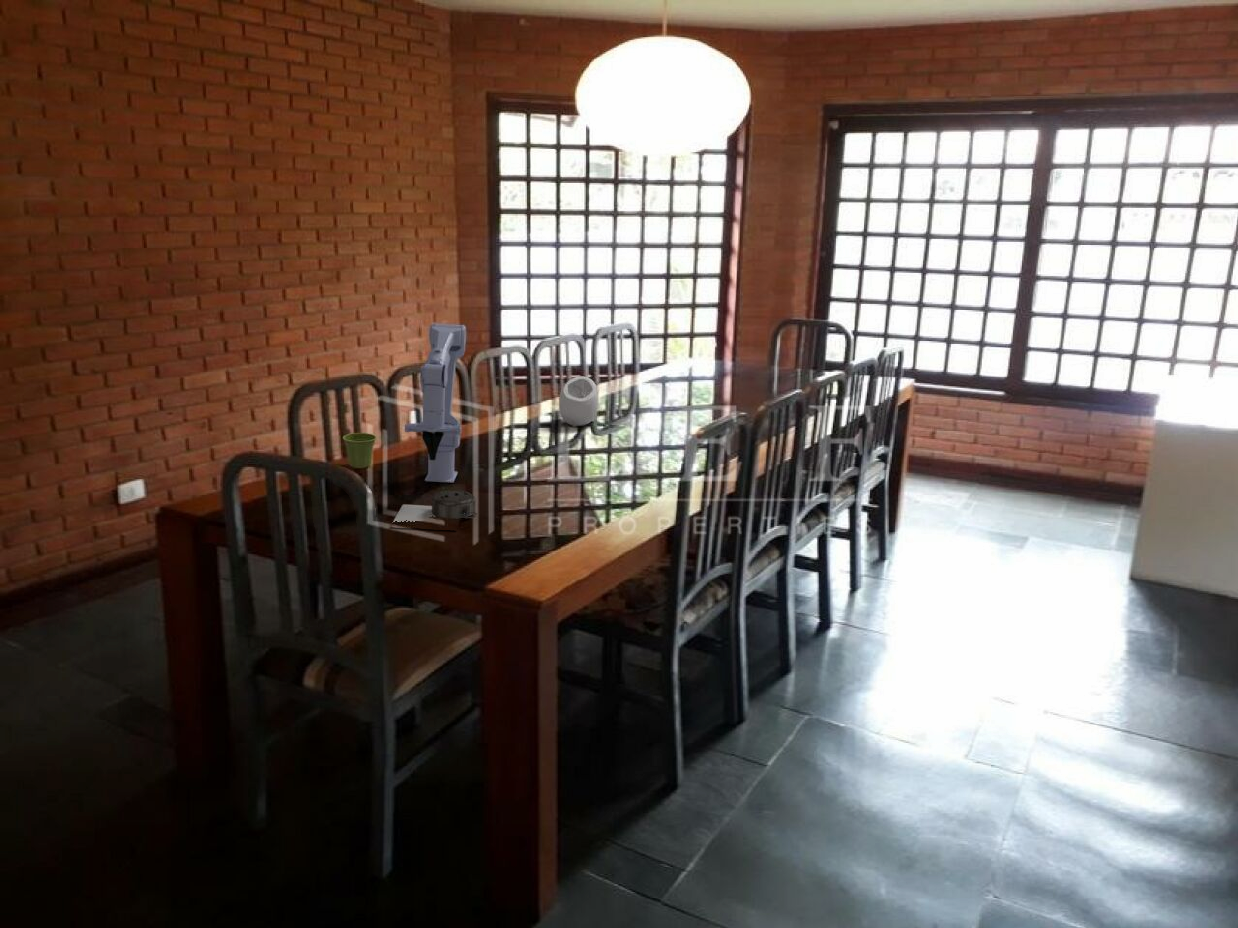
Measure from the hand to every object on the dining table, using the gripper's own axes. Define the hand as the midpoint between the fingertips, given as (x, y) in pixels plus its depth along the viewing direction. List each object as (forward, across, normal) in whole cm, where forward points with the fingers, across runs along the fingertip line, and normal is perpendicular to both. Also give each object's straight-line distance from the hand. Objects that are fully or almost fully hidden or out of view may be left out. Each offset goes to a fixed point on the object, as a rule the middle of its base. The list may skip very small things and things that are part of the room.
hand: (432, 459), depth 252 cm
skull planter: (+11, +40, +89) cm, 98 cm away
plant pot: (+11, -24, +24) cm, 36 cm away
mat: (+10, +2, -17) cm, 20 cm away
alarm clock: (+7, +3, -8) cm, 11 cm away
